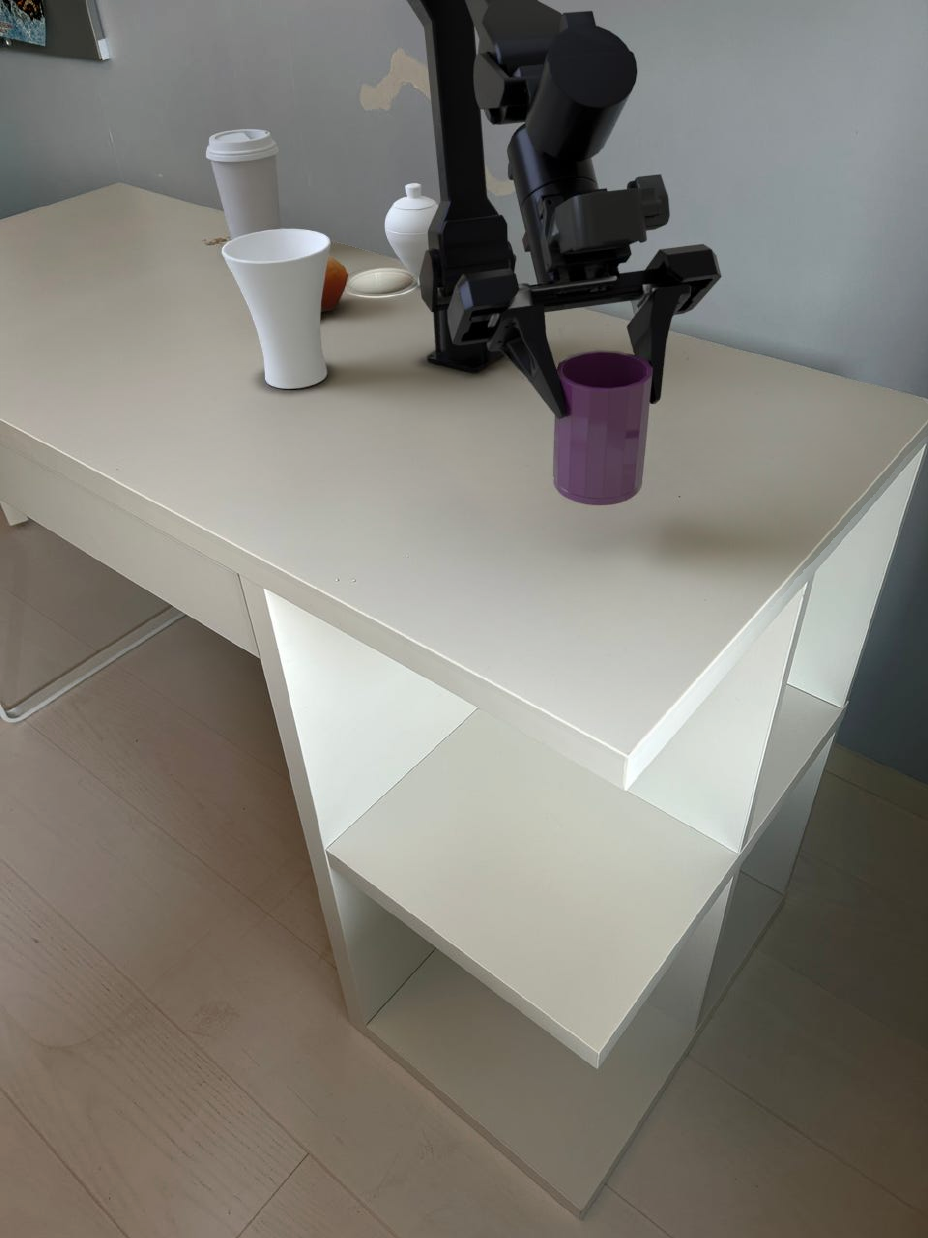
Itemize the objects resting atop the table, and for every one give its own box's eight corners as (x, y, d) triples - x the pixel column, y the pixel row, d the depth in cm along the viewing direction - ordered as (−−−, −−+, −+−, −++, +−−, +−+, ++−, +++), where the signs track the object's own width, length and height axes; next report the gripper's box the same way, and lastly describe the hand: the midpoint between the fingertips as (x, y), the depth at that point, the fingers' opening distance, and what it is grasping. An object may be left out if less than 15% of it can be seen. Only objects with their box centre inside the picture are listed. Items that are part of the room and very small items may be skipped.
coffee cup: (287, 262, 130) (269, 142, 120) (218, 264, 130) (194, 145, 121) (297, 241, 137) (281, 126, 128) (232, 243, 138) (211, 128, 128)
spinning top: (439, 297, 117) (434, 194, 110) (381, 293, 119) (372, 191, 111) (456, 276, 123) (452, 177, 115) (400, 273, 125) (393, 175, 117)
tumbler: (537, 490, 71) (539, 376, 65) (579, 453, 75) (584, 343, 69) (616, 514, 68) (626, 397, 62) (656, 474, 72) (668, 361, 66)
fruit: (260, 310, 111) (269, 240, 110) (294, 324, 119) (303, 258, 118) (321, 318, 109) (331, 246, 108) (352, 331, 116) (361, 264, 115)
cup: (355, 388, 97) (339, 253, 89) (252, 405, 95) (226, 268, 87) (336, 350, 105) (320, 223, 97) (241, 364, 103) (216, 235, 95)
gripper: (450, 143, 58) (505, 385, 57) (728, 116, 62) (786, 343, 60) (427, 239, 69) (473, 444, 67) (664, 211, 73) (712, 405, 71)
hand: (609, 409), depth 66 cm, fingers closed on tumbler, 7 cm apart
